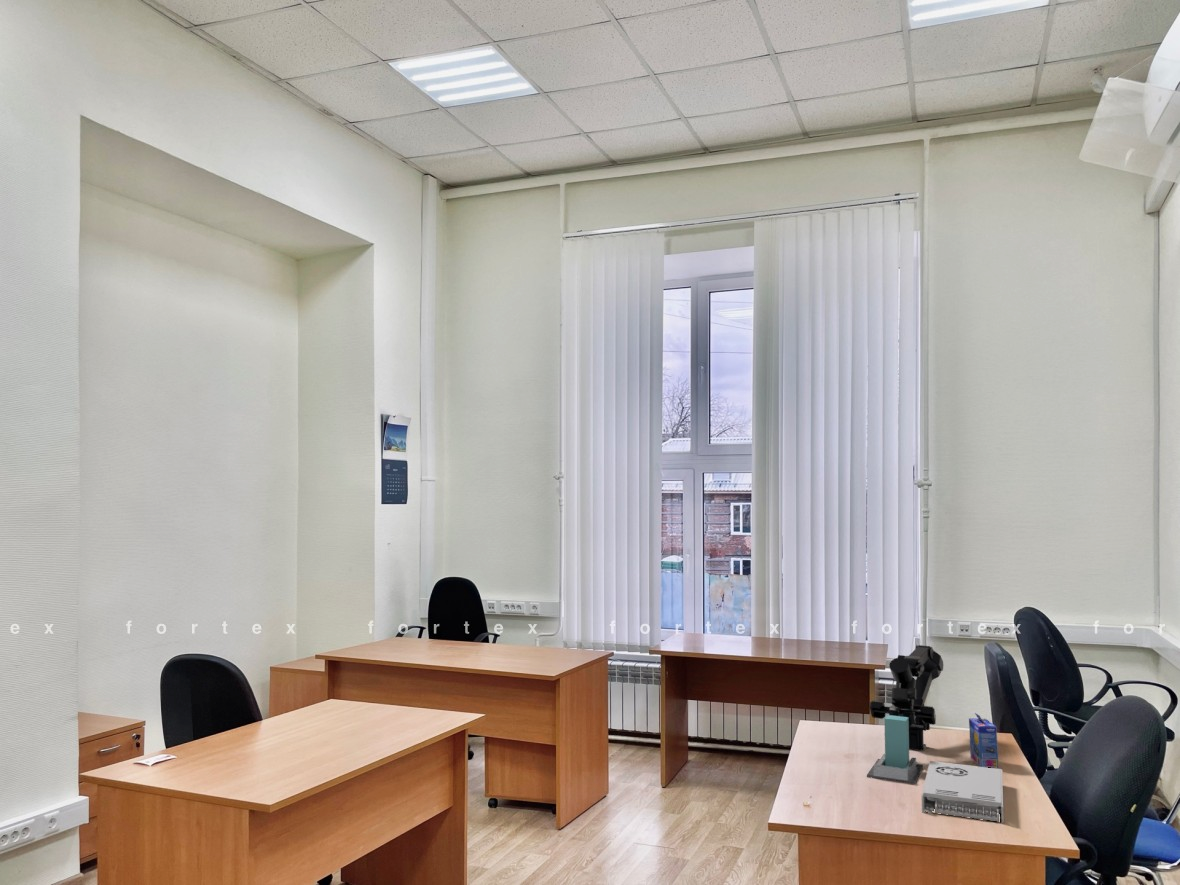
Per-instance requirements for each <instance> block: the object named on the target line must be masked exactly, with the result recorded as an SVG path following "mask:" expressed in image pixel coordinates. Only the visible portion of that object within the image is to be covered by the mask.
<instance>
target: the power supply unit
mask: <svg viewBox="0 0 1180 885" xmlns="http://www.w3.org/2000/svg"><path fill="white" fill-rule="evenodd" d="M922 787H923V788H922V790H921V791H922V792H921V813H922V814H923V813H926V812H925V811H927V812H928V813H927V814H932V813H931V812H932V811H934V809H935V813H941V814H948V815H955V816H963V817H970V818H974V819H973V820H976V819H983V820H990V821H997V822H996V823H998V822H999V814H1001V824H1002V823H1003V822H1004V789H1003V788H1004V784H1003V769H1001V768H988V767H980V766H979V765H977V766H976V765H969V764H961V763H960V764H959V763H951V762H944V761H934V760H930V761H929V764H928V767H927V772H926V775H925V780H924V784H923V786H922ZM936 791H937V792H936ZM983 820H982V821H983ZM990 821H989V822H990ZM1004 823H1005V822H1004ZM1004 823H1003V824H1004Z"/></svg>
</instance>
